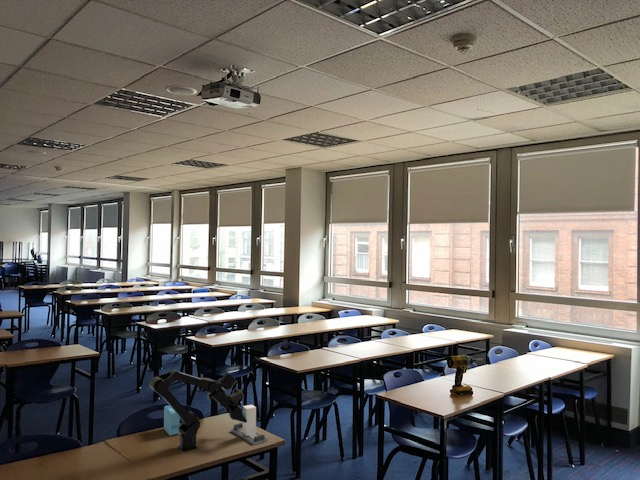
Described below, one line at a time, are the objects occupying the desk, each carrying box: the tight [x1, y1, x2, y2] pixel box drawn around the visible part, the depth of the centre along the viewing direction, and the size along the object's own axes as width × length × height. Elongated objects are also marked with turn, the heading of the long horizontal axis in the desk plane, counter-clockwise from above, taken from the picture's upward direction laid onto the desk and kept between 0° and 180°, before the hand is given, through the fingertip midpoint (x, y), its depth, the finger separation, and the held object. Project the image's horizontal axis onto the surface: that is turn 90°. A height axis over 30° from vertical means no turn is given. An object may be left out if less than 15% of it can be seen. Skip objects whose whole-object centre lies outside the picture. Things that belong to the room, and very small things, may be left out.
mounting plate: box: [230, 422, 269, 446], centre depth 243 cm, size 8×22×3 cm, turn 39°
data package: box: [163, 404, 181, 436], centre depth 248 cm, size 12×4×12 cm, turn 32°
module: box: [242, 404, 257, 436], centre depth 243 cm, size 5×5×13 cm
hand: (244, 418), depth 242 cm, fingers open, 9 cm apart
